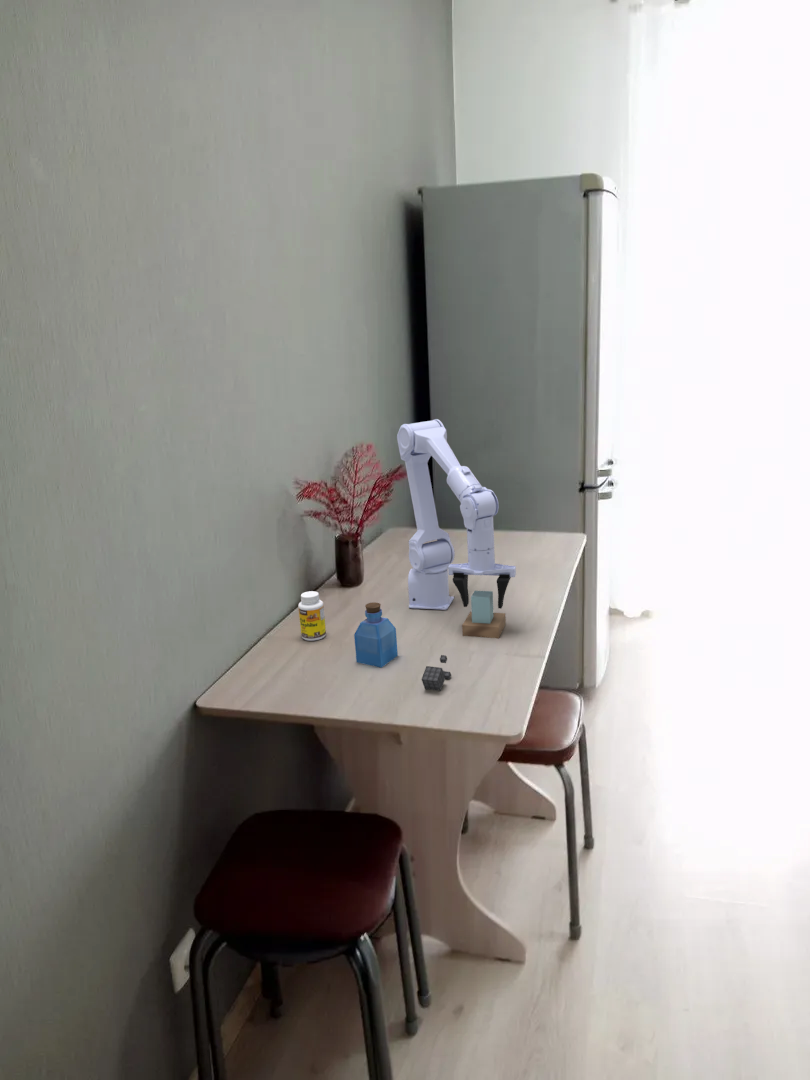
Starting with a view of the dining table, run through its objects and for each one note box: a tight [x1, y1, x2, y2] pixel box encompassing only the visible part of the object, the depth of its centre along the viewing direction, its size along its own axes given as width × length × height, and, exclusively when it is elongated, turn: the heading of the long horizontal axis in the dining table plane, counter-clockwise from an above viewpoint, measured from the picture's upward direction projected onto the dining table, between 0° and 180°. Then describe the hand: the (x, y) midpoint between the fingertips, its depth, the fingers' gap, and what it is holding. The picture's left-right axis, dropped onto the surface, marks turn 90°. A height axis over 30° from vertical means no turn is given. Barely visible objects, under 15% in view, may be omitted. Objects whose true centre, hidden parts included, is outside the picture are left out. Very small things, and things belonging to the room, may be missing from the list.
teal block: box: [470, 590, 494, 624], centre depth 179 cm, size 4×4×6 cm
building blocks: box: [420, 654, 452, 692], centre depth 157 cm, size 3×6×8 cm
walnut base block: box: [461, 611, 507, 639], centre depth 180 cm, size 8×8×3 cm
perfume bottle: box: [353, 601, 399, 669], centre depth 168 cm, size 6×6×12 cm
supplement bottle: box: [297, 590, 327, 642], centre depth 182 cm, size 6×6×10 cm
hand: (483, 606), depth 179 cm, fingers open, 7 cm apart
